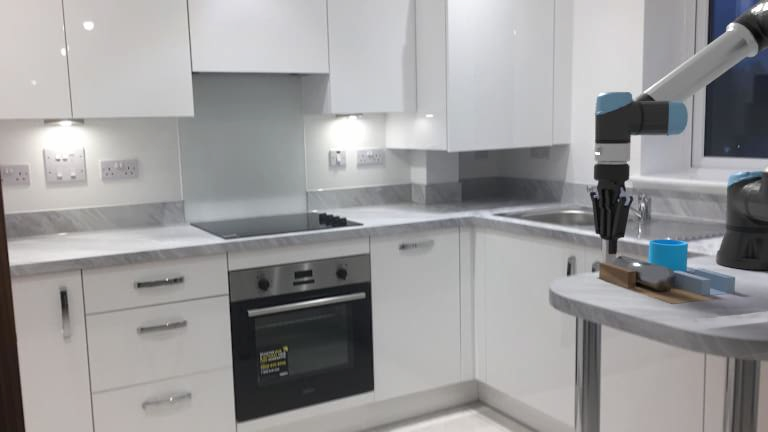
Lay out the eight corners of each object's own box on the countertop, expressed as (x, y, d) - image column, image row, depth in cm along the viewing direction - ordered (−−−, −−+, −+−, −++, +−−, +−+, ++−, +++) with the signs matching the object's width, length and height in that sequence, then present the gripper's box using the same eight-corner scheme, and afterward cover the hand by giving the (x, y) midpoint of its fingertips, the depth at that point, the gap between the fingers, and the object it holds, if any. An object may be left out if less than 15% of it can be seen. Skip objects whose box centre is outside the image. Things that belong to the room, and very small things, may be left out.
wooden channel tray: (634, 280, 157) (635, 259, 156) (714, 306, 134) (715, 281, 134) (596, 284, 154) (596, 262, 154) (670, 311, 131) (672, 285, 131)
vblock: (699, 288, 149) (700, 268, 148) (736, 299, 140) (737, 277, 139) (668, 291, 147) (669, 270, 146) (703, 303, 137) (704, 280, 137)
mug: (679, 282, 155) (681, 246, 154) (642, 278, 160) (643, 242, 159) (696, 273, 164) (697, 239, 163) (660, 269, 169) (662, 236, 168)
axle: (611, 278, 153) (612, 256, 152) (631, 277, 154) (632, 254, 154) (654, 293, 140) (655, 268, 139) (675, 291, 141) (676, 266, 140)
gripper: (580, 161, 160) (577, 263, 163) (614, 164, 148) (611, 274, 151) (608, 161, 162) (605, 261, 165) (645, 163, 150) (641, 272, 153)
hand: (608, 267), depth 158 cm, fingers closed
